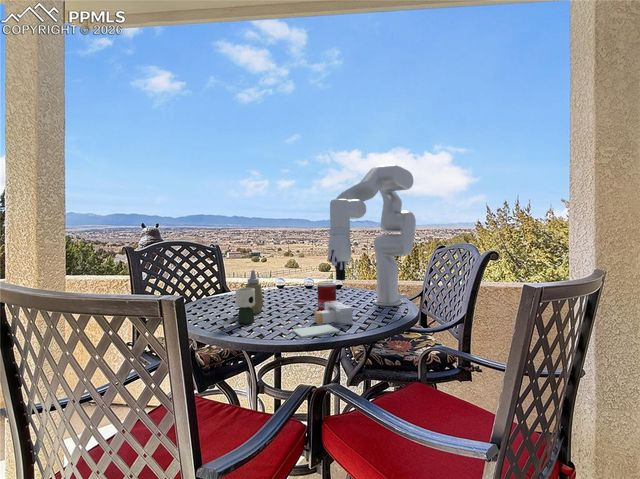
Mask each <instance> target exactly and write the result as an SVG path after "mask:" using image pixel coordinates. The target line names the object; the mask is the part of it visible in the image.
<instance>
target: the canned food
mask: <svg viewBox="0 0 640 479" xmlns="http://www.w3.org/2000/svg"><path fill="white" fill-rule="evenodd" d="M330 301H337V283H334V282H320V283H317V309H318V311H321V310H322V311H324V310H325V305H324V302H330Z"/></svg>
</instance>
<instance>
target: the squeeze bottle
mask: <svg viewBox="0 0 640 479" xmlns="http://www.w3.org/2000/svg"><path fill="white" fill-rule="evenodd" d="M255 272H256V271H255V270H253V269H252V270H251V272H250V276H249V277H250V278H248V279H247V284H246V285H245V287H244V288H254V289H255V305H254V306H252V309H253V314H254V315H256V314H259V313H262V310H263V307H264V298H263V289H262V284H261V283H260V281H259V280H260V279H259V278H257V275H256V273H255Z"/></svg>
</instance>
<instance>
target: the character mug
mask: <svg viewBox="0 0 640 479" xmlns="http://www.w3.org/2000/svg"><path fill="white" fill-rule="evenodd" d="M254 305H255V289H254V288H245V287H241V288H236V289H235V307H238V312H237V314H238V315H237V323H238V324H243V325H246V324H253V323H254V321H255V314H253V309H252V306H254Z"/></svg>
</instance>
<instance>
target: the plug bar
mask: <svg viewBox="0 0 640 479" xmlns="http://www.w3.org/2000/svg"><path fill="white" fill-rule="evenodd" d="M332 322H334V323H336V309H333V310H324V311H321V310H317V311H314V323H316V324H317V323H318V324H317V325H325V324H324V323H326V324H331V323H332ZM332 324H333V323H332Z"/></svg>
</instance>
